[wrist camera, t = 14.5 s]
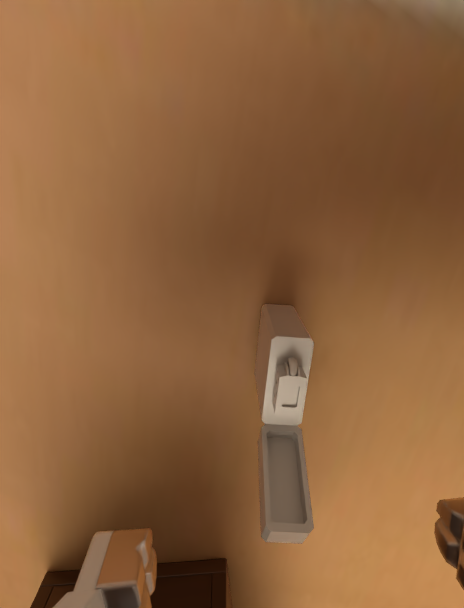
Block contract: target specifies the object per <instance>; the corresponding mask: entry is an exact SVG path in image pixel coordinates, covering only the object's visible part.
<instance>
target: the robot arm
mask: <svg viewBox="0 0 464 608" xmlns="http://www.w3.org/2000/svg"><path fill="white" fill-rule="evenodd" d="M436 511H437V512H438V514H439V515H440V518H439V519H438V520H437V522H436V523H435V537H436V542H437V545H438V547H439V550H440V552H441V554H442V556H443V557H444V559H445V561H446V562H447V563H449V564H450V565H452V566H453V567H454V568H456V569H457V575H456V579H457V580H458V582H459V583H460V585H461V587H462V588H463V590H464V497H463V498H453V499H444V500H440V501H439V502H438V503H437V510H436ZM152 541H153V535H152V531H151V528H142V529H127V530H114V531H101V532H96V533H95V535H94V536H93V537H92V540H91V543H90V546H89V548H88V551H87V554H86V557H85V560H84V562H83V565H82V568H81V571H80V574H79V576H78V579H77V582H76V585H75V588H74V590H73V592H67V593H66V594H65V595H64V596H63V597H62V599H61V600H60V601H59V602H58V603H57V604H56V605H55V606H54V607H53V608H152V604H151V599H150V596H151V594H152V593H153V592H154V590H155V586H156V579H157V557H156V551H155V549H154V548H153V547H152Z"/></svg>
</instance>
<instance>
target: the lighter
mask: <svg viewBox="0 0 464 608" xmlns="http://www.w3.org/2000/svg"><path fill="white" fill-rule="evenodd" d="M313 347H314V342H313V340H312V338H311V336H310V335H309V333H308V331H307V329H306V327H305V326H304V324H303V322H302V320H301V319H300V317H299V315H298V313H297V311H296V310H295V308H294V307H293V306H291V305H276V304H264V305H263V306H262V307H261V317H260V326H259V335H258V344H257V354H256V363H255V372H254V374H255V380H256V386H257V393H258V399H259V406H260V412H261V418H262V421H263V422H264V423H265V425H264V426H263V427H262V428H261V432H260V435H259V439H258V462H259V492H260V522H261V537H262V538H263V539H264V541H265V542H276V543H300V544H302V543H303V542H304V540H305V539H306V538H307V536H308V535H309V534H310V532H311V531H312V530H313V528H314V525H313V517H312V509H311V501H310V493H309V485H308V477H307V469H306V462H305V454H304V446H303V438H302V430H301V429H300V428H299V427H298V425H299V424H301V423H302V417H303V410H304V404H305V398H306V391H307V385H308V379H309V372H310V366H311V360H312V353H313Z"/></svg>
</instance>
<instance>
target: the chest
mask: <svg viewBox="0 0 464 608" xmlns="http://www.w3.org/2000/svg"><path fill="white" fill-rule="evenodd" d="M80 571H81V570H74V571H61V572H48V573H46V575H45V577H44V579H43V581H42V583H41V586H40V588H39V590H38V592H37V594H36V597H35V599H34V601H33V603H32V605H31V607H30V608H53V607H54V606H55V605H56V604H57V603H58V602H59V601H60V600H61V599H62V597H63V596H64V595H65V594H66V593H67V592H73V590H74V588H75V585H76V582H77V579H78V576H79V574H80ZM150 599H151V604H152V608H232V602H231V594H230V585H229V577H228V568H227V560H226V559H215V560H202V561H190V562H177V563H164V564H157V579H156V586H155V590H154V592H153V593H152V594H151V596H150Z"/></svg>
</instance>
